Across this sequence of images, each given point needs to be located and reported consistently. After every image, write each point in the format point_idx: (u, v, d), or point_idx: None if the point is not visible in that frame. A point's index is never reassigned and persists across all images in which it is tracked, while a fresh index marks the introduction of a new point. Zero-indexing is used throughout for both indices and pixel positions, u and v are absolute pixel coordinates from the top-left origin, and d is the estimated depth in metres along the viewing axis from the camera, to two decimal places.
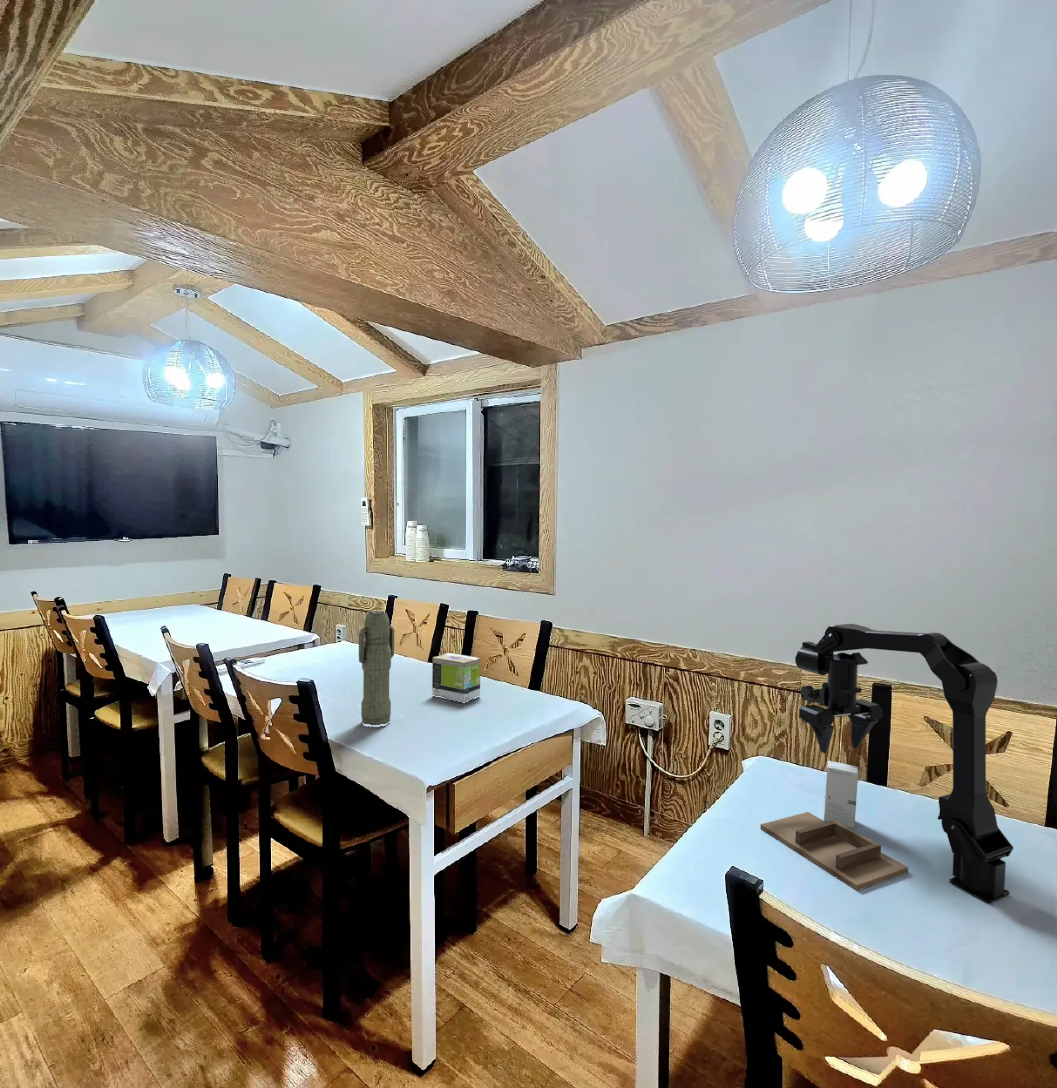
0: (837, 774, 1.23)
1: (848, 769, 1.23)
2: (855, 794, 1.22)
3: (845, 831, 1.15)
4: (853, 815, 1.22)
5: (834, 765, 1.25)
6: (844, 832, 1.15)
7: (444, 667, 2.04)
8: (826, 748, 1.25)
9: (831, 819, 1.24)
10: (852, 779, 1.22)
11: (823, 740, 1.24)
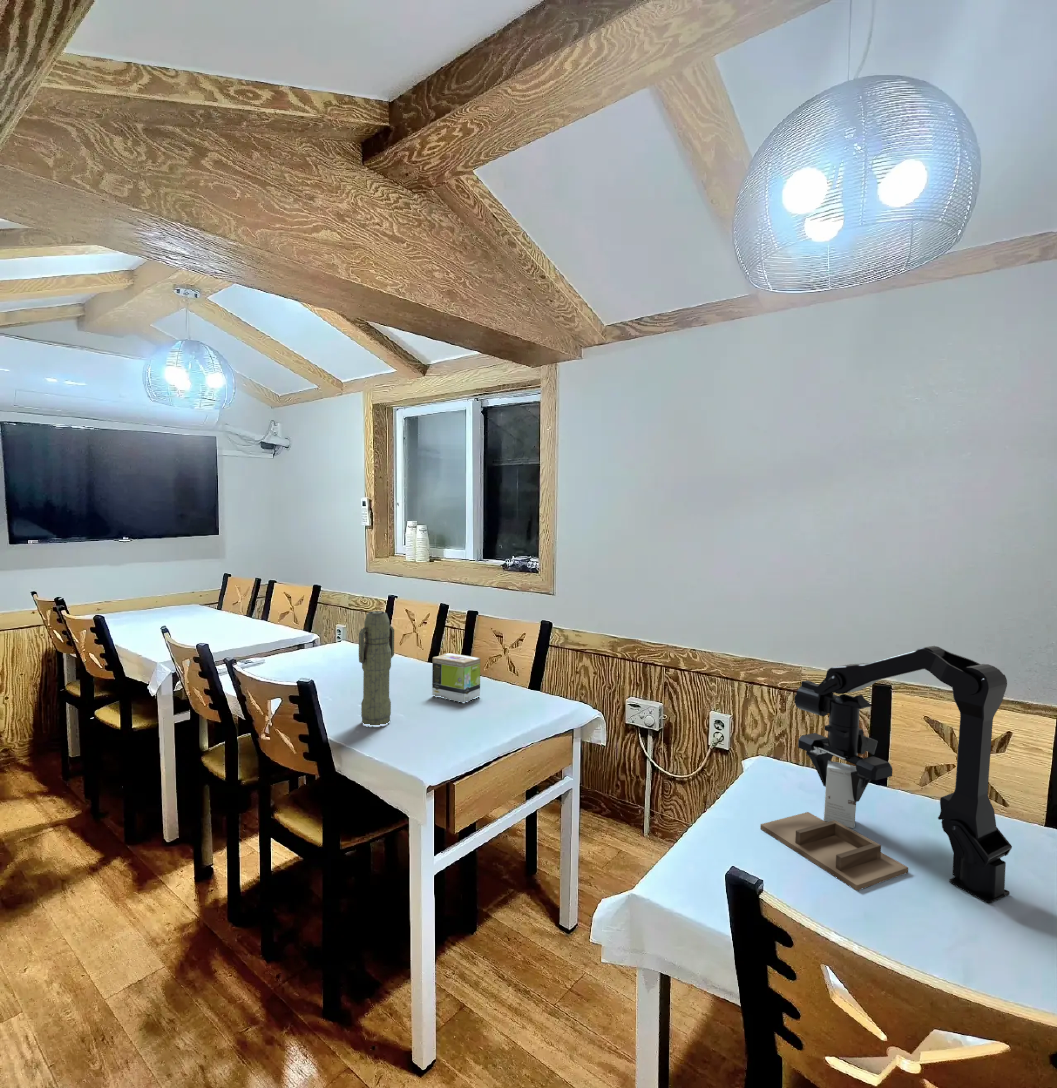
0: (837, 774, 1.23)
1: (848, 769, 1.23)
2: None
3: (845, 831, 1.15)
4: (853, 815, 1.22)
5: (834, 765, 1.25)
6: (844, 832, 1.15)
7: (444, 667, 2.04)
8: (821, 780, 1.28)
9: (831, 819, 1.24)
10: None
11: None
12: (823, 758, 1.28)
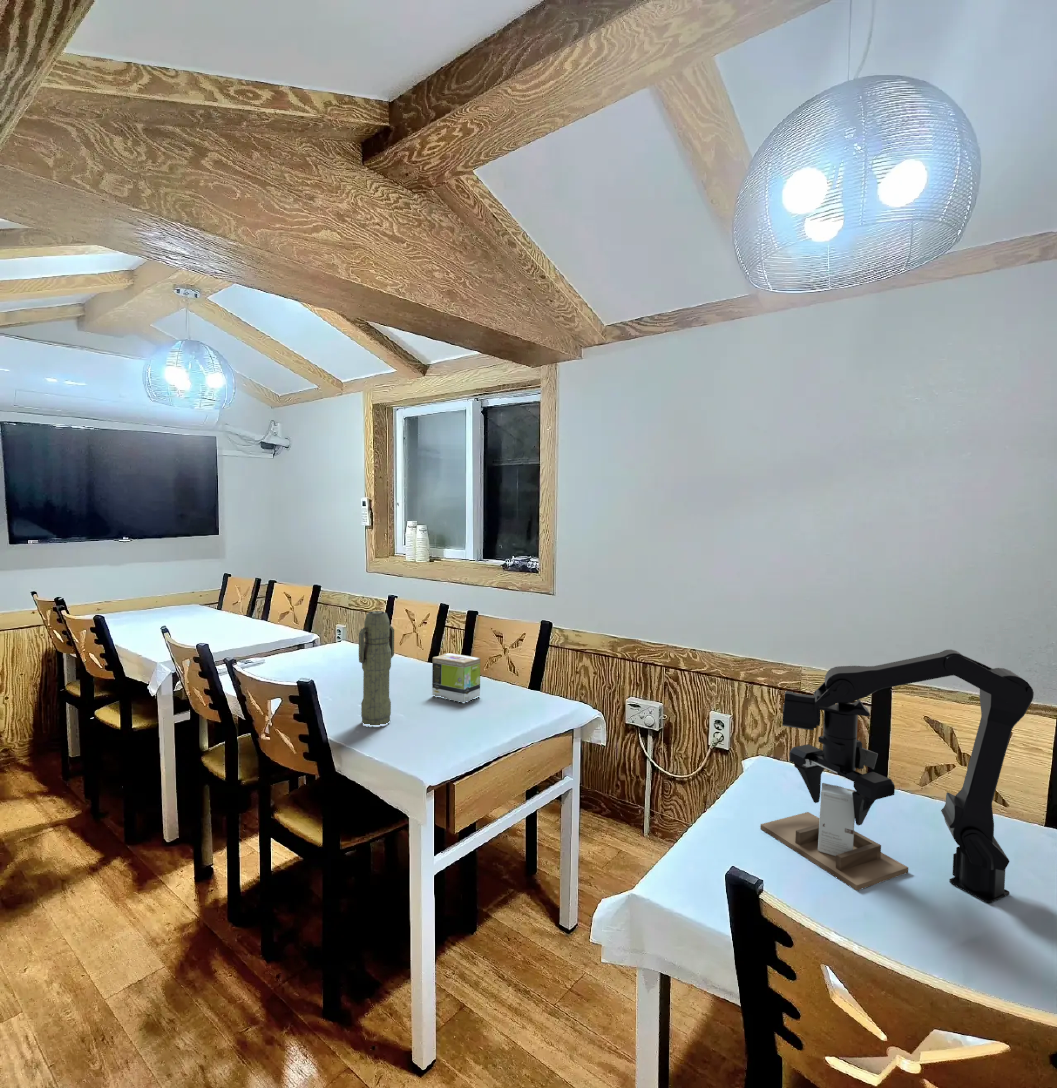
0: (832, 799, 1.10)
1: (844, 794, 1.09)
2: (853, 822, 1.08)
3: None
4: (851, 845, 1.08)
5: (829, 788, 1.11)
6: None
7: (444, 667, 2.04)
8: (811, 795, 1.15)
9: (826, 850, 1.10)
10: (849, 804, 1.08)
11: None
12: (813, 771, 1.15)
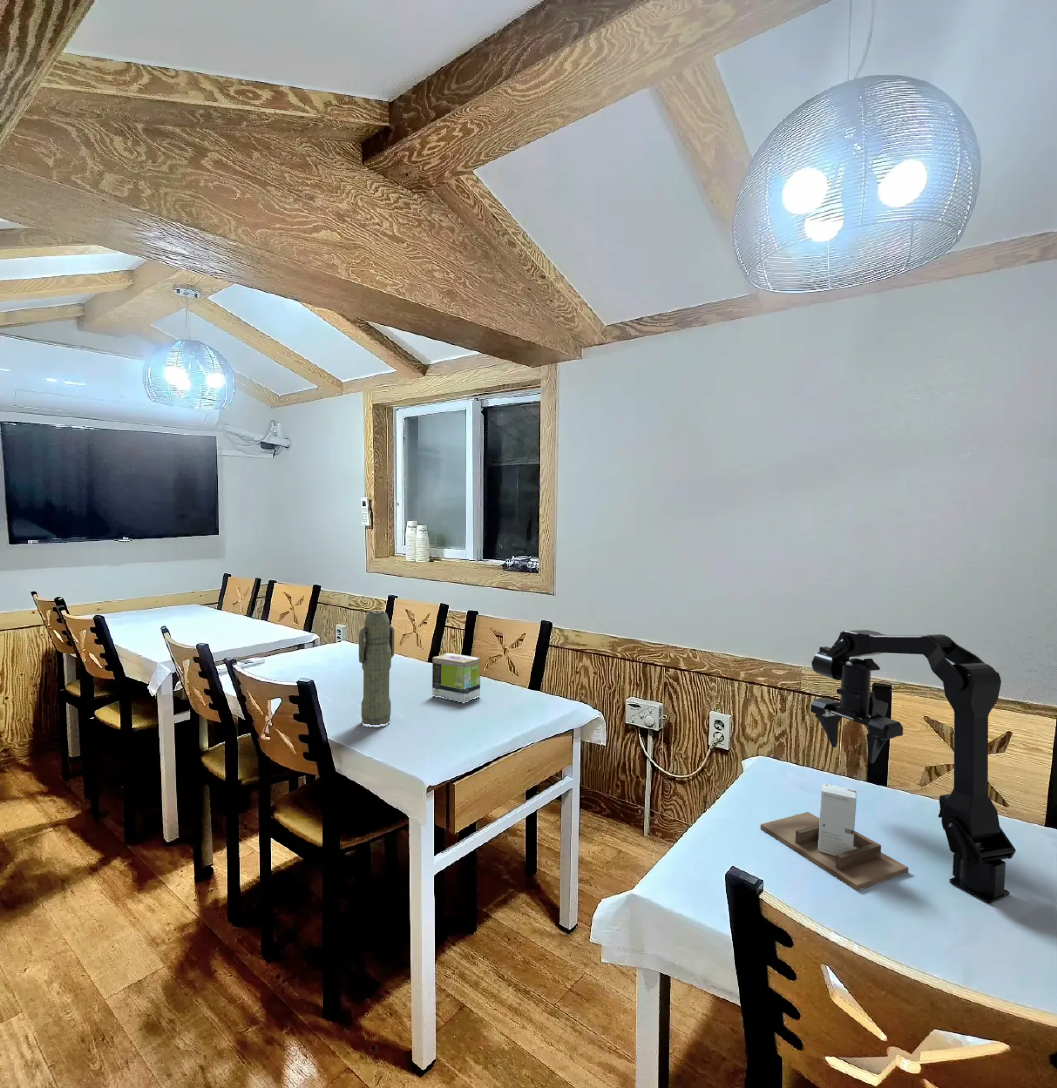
0: (833, 799, 1.10)
1: (845, 794, 1.09)
2: (853, 822, 1.08)
3: None
4: (851, 845, 1.08)
5: (830, 788, 1.12)
6: None
7: (444, 667, 2.04)
8: (830, 741, 1.33)
9: (826, 850, 1.10)
10: (850, 805, 1.08)
11: None
12: (832, 720, 1.33)
